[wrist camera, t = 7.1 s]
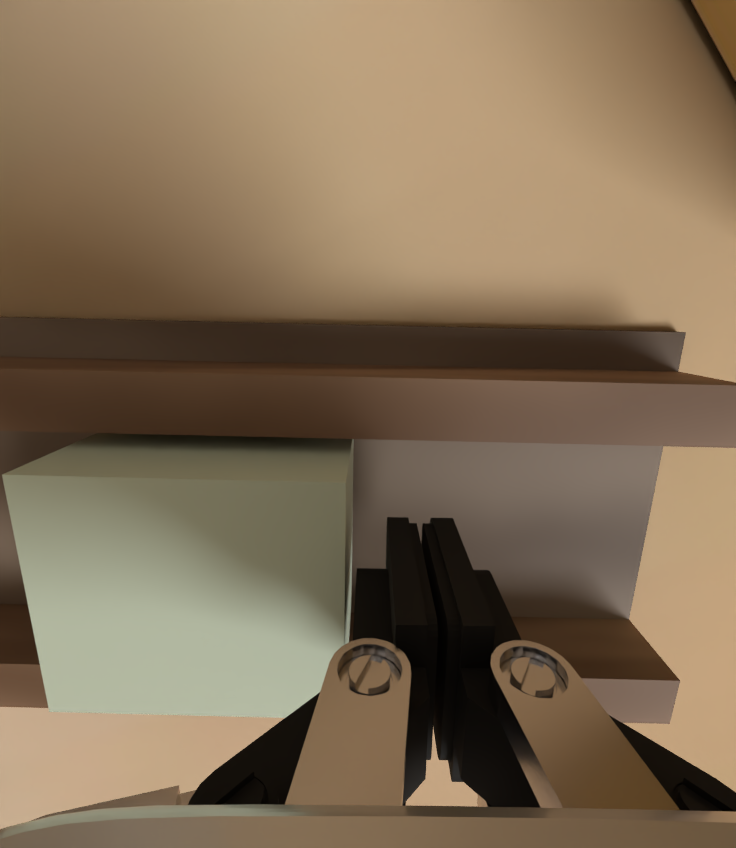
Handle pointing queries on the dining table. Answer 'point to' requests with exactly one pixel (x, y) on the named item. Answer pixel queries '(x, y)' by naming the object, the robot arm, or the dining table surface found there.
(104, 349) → the chute
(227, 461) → the sage block
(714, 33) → the puzzle cube
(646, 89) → the dining table surface
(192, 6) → the dining table surface
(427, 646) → the robot arm
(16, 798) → the dining table surface
